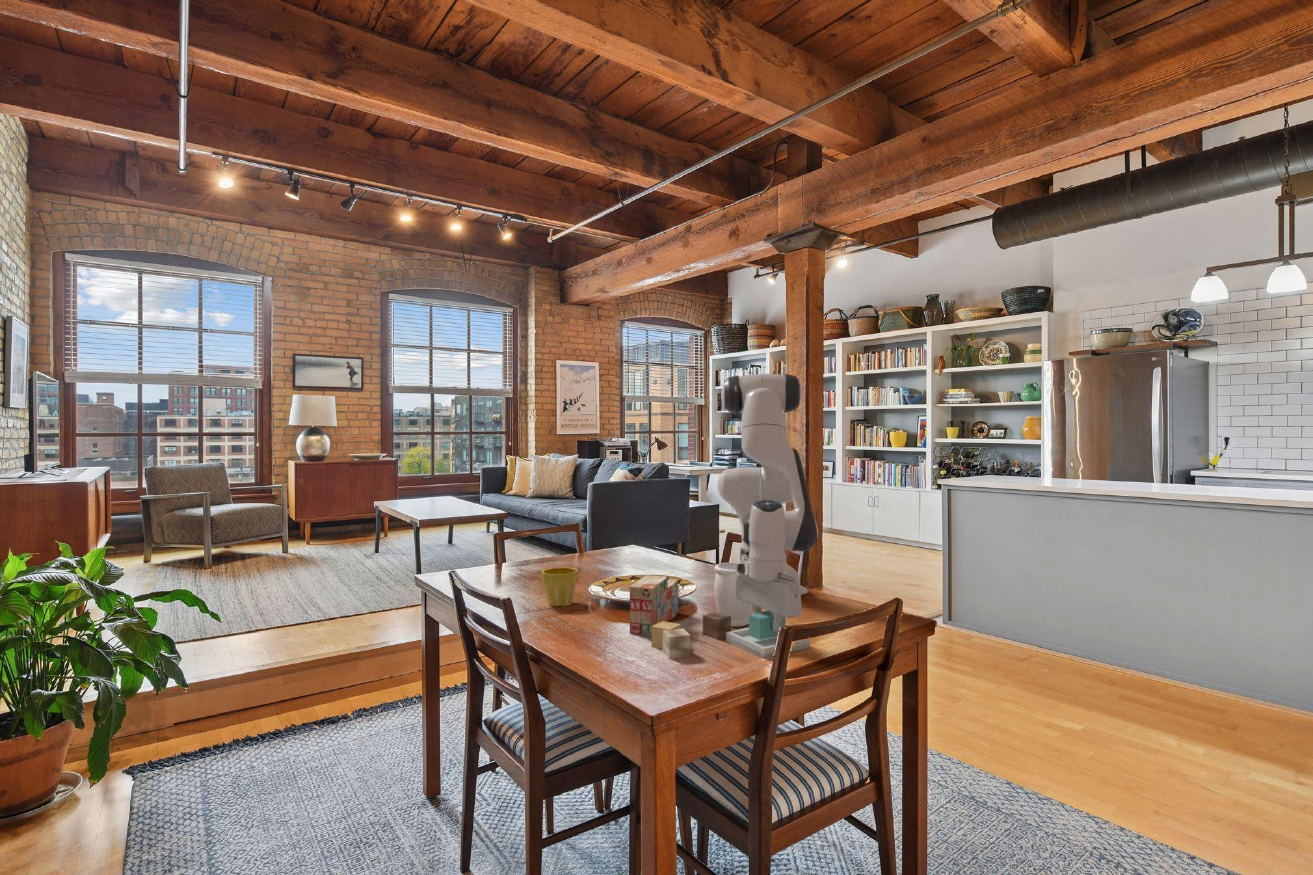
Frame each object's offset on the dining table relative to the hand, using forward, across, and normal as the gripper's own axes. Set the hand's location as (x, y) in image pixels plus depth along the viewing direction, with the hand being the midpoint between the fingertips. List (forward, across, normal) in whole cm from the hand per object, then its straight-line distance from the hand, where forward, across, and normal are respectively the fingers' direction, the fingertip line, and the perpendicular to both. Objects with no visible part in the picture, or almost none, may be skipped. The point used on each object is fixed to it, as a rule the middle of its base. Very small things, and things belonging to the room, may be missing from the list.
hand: (767, 627), depth 161 cm
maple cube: (+4, +6, +22) cm, 23 cm away
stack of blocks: (+4, +29, +14) cm, 32 cm away
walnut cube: (+4, +12, +6) cm, 14 cm away
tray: (+4, 0, 0) cm, 4 cm away
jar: (+4, +18, -4) cm, 19 cm away
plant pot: (+4, +59, +28) cm, 65 cm away
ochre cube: (+4, +12, +21) cm, 25 cm away
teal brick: (+2, 0, 0) cm, 2 cm away
